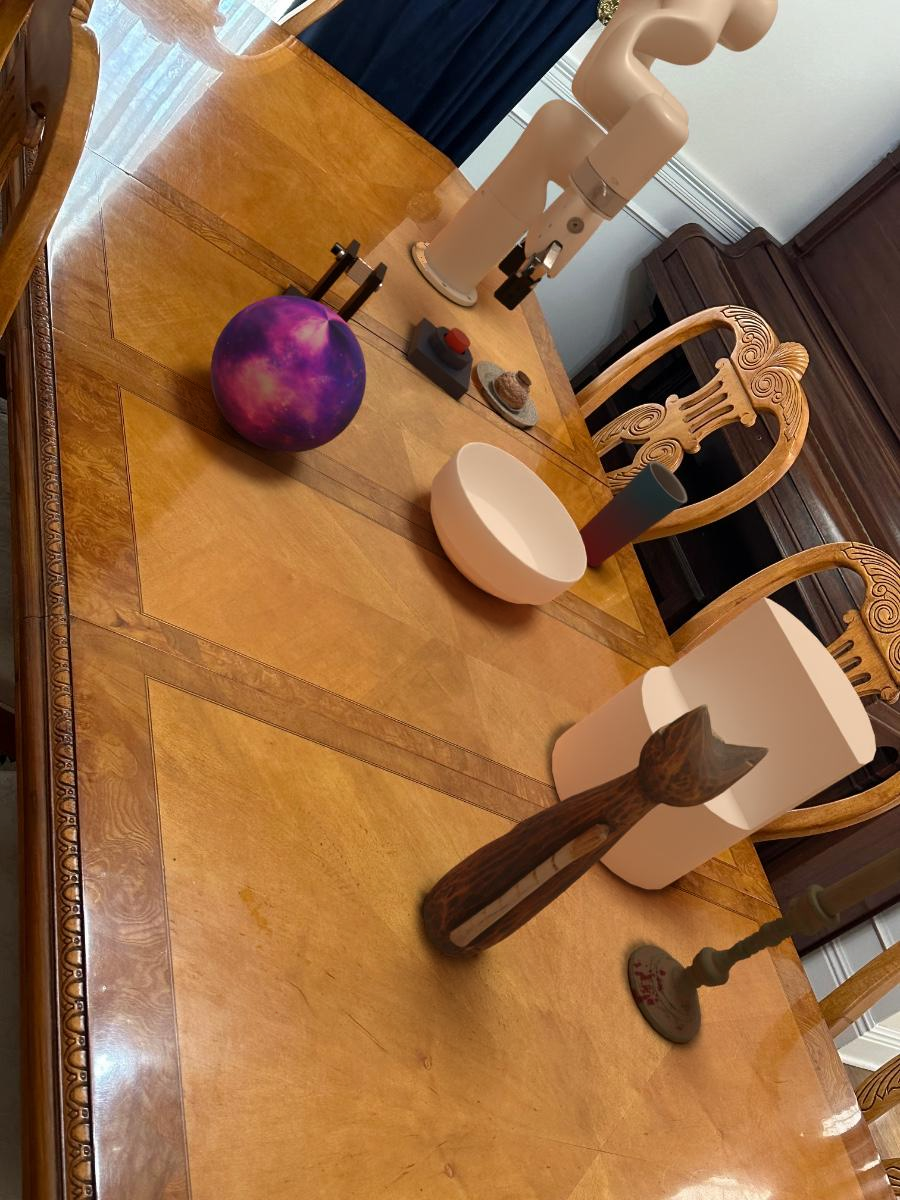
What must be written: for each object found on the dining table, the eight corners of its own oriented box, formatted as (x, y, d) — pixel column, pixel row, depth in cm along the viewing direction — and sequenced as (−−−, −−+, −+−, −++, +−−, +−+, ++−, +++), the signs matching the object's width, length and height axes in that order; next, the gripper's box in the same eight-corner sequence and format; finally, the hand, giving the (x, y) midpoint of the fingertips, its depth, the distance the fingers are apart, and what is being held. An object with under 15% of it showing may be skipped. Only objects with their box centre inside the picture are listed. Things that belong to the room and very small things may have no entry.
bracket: (285, 290, 141) (344, 218, 135) (343, 337, 144) (403, 269, 138) (268, 324, 133) (330, 249, 127) (330, 373, 136) (393, 302, 130)
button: (445, 332, 157) (453, 323, 157) (462, 347, 159) (471, 339, 158) (443, 342, 155) (451, 333, 154) (461, 358, 156) (469, 349, 155)
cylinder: (640, 744, 133) (816, 620, 121) (702, 896, 122) (903, 777, 110) (530, 715, 121) (714, 574, 108) (588, 881, 110) (800, 746, 98)
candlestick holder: (620, 934, 108) (890, 772, 93) (685, 963, 113) (952, 813, 98) (637, 1028, 102) (930, 870, 87) (705, 1055, 106) (995, 908, 91)
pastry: (462, 378, 162) (484, 355, 159) (485, 358, 172) (506, 336, 170) (522, 440, 163) (544, 418, 160) (541, 416, 173) (562, 395, 171)
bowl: (553, 586, 142) (603, 544, 138) (508, 653, 125) (562, 608, 121) (443, 468, 141) (489, 423, 137) (381, 520, 124) (432, 470, 120)
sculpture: (500, 930, 97) (784, 745, 82) (452, 985, 90) (756, 792, 75) (450, 864, 98) (723, 669, 83) (398, 913, 90) (688, 708, 76)
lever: (327, 253, 143) (339, 238, 142) (365, 285, 145) (377, 270, 144) (332, 263, 132) (345, 246, 131) (373, 297, 134) (386, 281, 133)
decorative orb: (156, 360, 114) (242, 248, 106) (265, 376, 126) (349, 277, 118) (223, 480, 109) (318, 372, 102) (329, 485, 121) (421, 389, 114)
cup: (602, 552, 158) (685, 483, 151) (603, 581, 153) (689, 511, 145) (566, 523, 156) (648, 451, 149) (566, 551, 151) (651, 479, 143)
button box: (414, 327, 161) (432, 307, 159) (463, 368, 164) (482, 349, 162) (406, 358, 153) (425, 337, 151) (457, 401, 156) (477, 381, 154)
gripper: (621, 234, 137) (522, 334, 146) (618, 188, 151) (527, 282, 159) (575, 190, 135) (477, 295, 143) (576, 148, 148) (486, 245, 157)
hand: (504, 288), depth 151 cm, fingers open, 9 cm apart
